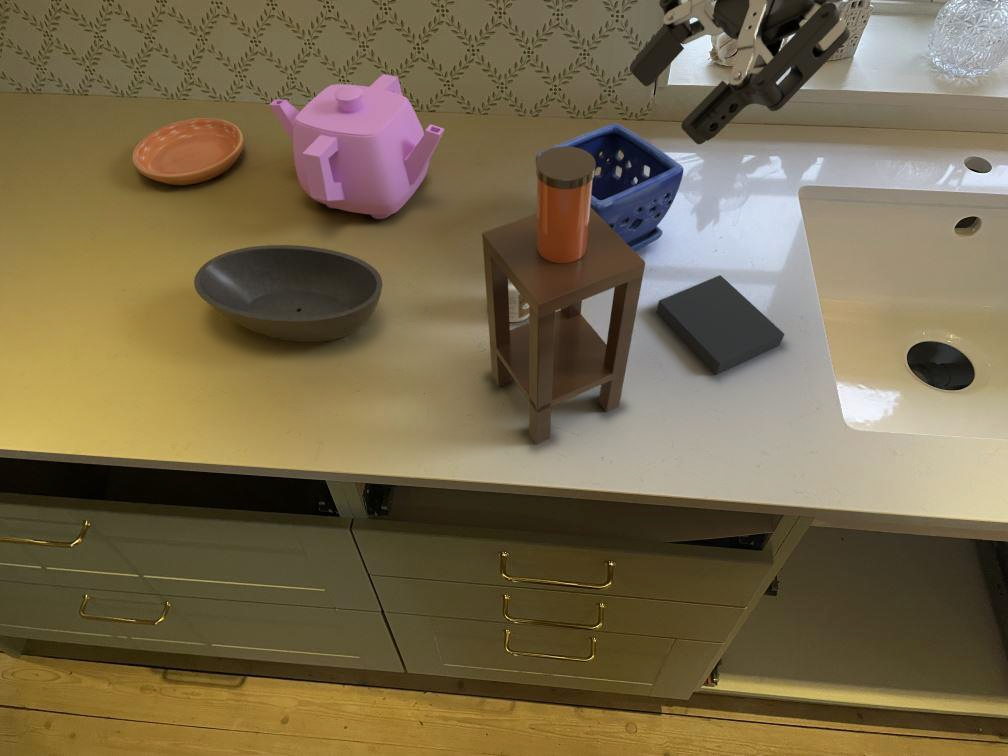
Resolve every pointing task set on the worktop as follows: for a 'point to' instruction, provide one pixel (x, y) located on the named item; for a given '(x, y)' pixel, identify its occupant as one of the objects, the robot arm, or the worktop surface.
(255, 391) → the worktop surface
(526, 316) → the pill bottle
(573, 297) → the stand
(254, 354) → the worktop surface
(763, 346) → the pad
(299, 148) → the teapot
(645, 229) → the flower pot
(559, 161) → the spice jar
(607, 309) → the worktop surface
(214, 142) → the saucer
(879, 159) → the worktop surface
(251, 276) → the bowl
